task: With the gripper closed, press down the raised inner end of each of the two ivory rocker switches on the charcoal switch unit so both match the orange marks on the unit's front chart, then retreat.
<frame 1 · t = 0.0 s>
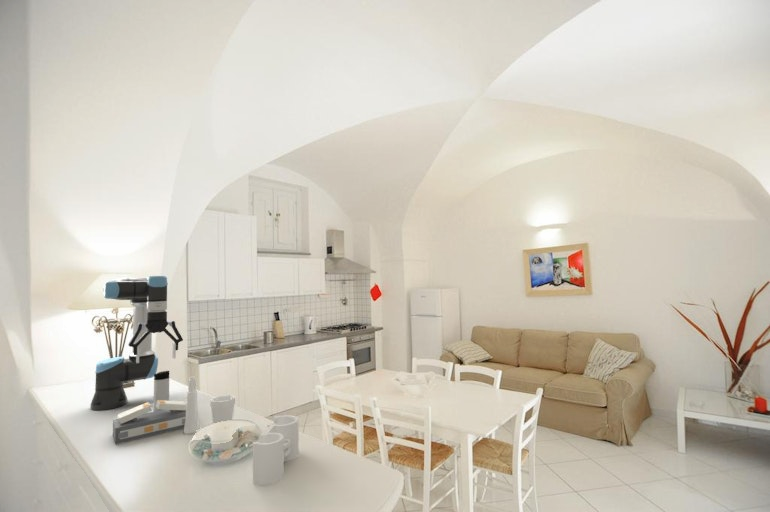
hand: (156, 360, 165), 28 cm above the counter, fingers open, 13 cm apart
pair of white mugs: (278, 466, 126), on the counter
travel mug: (161, 414, 178), on the counter
foam cup: (222, 430, 157), on the counter
cosmetic bottle: (191, 431, 157), on the counter
switch unit: (153, 430, 158), on the counter
rocker A: (134, 412, 155), point 9 cm above the counter, hinge at 15.0°
rocker B: (172, 404, 163), point 9 cm above the counter, hinge at -15.0°
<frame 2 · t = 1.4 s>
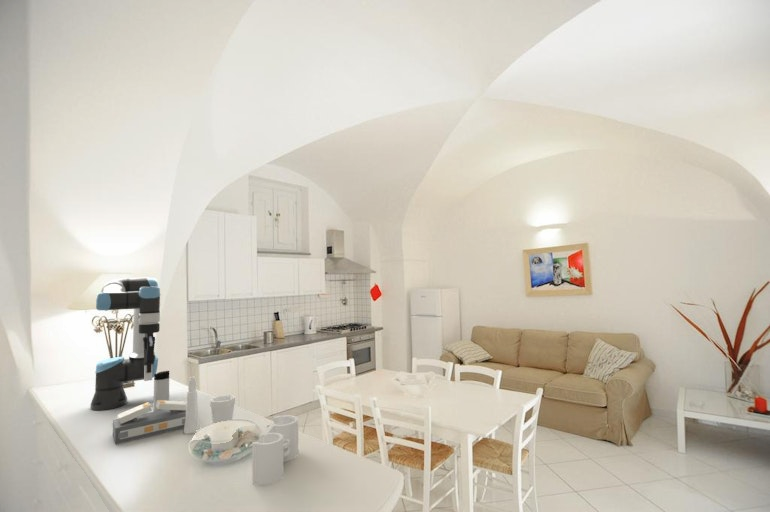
hand: (148, 380, 158), 21 cm above the counter, fingers closed
nothing on the counter moved.
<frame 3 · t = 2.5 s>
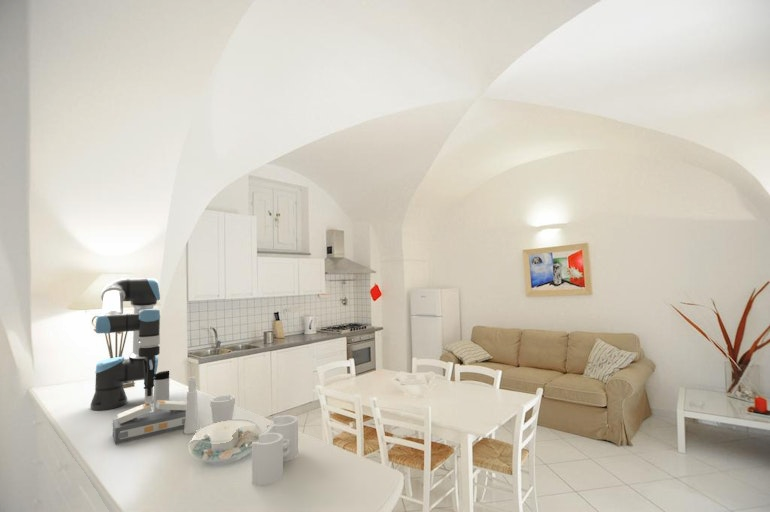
hand: (148, 403, 158), 12 cm above the counter, fingers closed
rocker A: (134, 412, 155), point 9 cm above the counter, hinge at 13.1°, touching gripper
everything else where it was.
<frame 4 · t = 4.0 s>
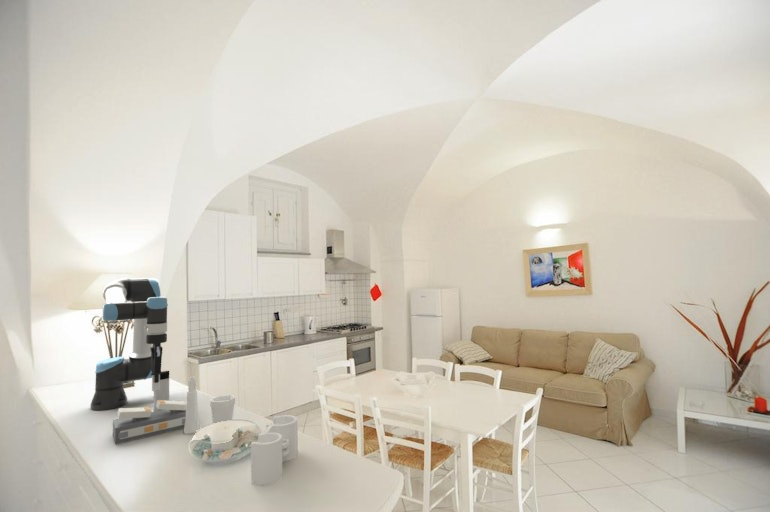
hand: (155, 389, 160), 17 cm above the counter, fingers closed
rocker A: (134, 412, 155), point 9 cm above the counter, hinge at -10.4°
everything else where it was.
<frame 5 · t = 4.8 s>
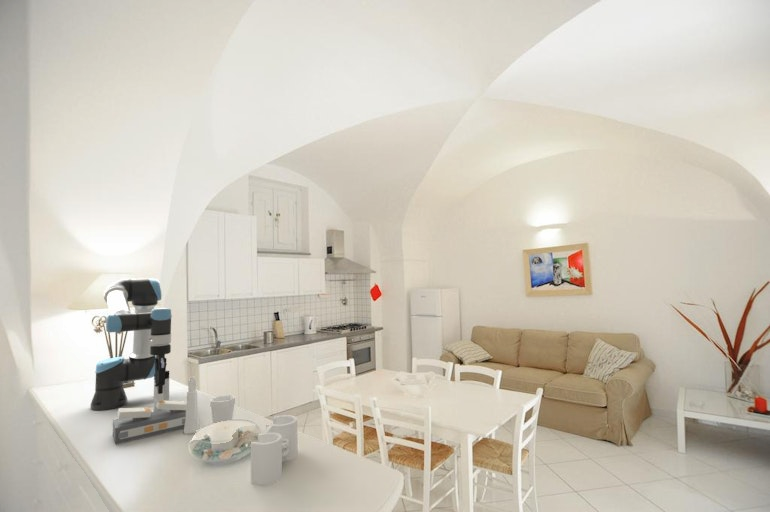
hand: (159, 400, 160), 12 cm above the counter, fingers closed
rocker B: (172, 404, 163), point 9 cm above the counter, hinge at -14.6°, touching gripper
everything else where it was.
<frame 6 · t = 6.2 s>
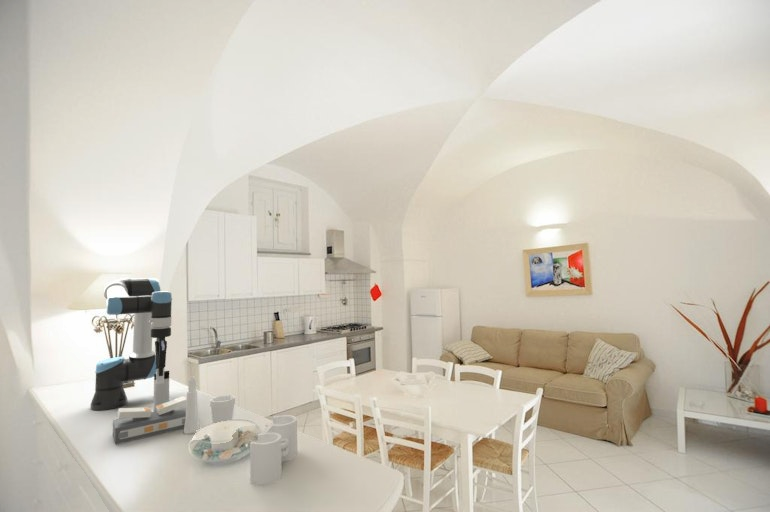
hand: (160, 383, 161), 19 cm above the counter, fingers closed
rocker B: (171, 404, 163), point 9 cm above the counter, hinge at 10.6°
everything else where it was.
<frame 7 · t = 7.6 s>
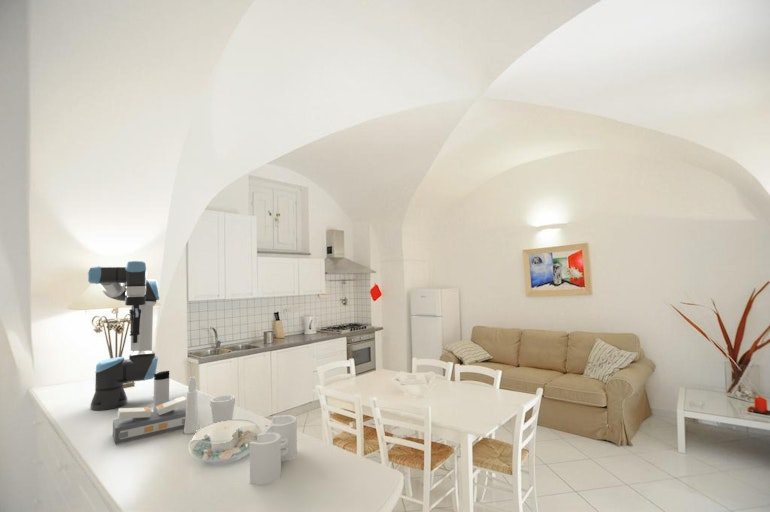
hand: (134, 350, 166), 32 cm above the counter, fingers closed
rocker B: (171, 404, 163), point 9 cm above the counter, hinge at 11.0°
everything else where it was.
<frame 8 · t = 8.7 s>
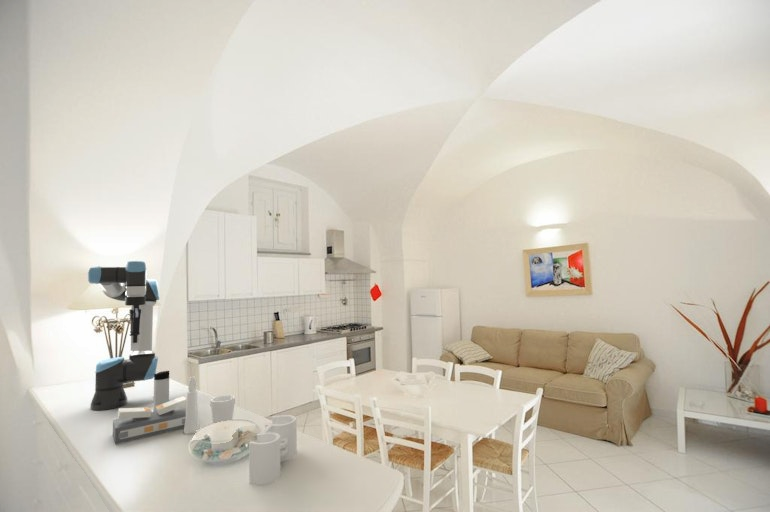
hand: (134, 350, 166), 32 cm above the counter, fingers closed
at the end: rocker A at -11° (first picture: +15°); rocker B at +11° (first picture: -15°) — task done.
